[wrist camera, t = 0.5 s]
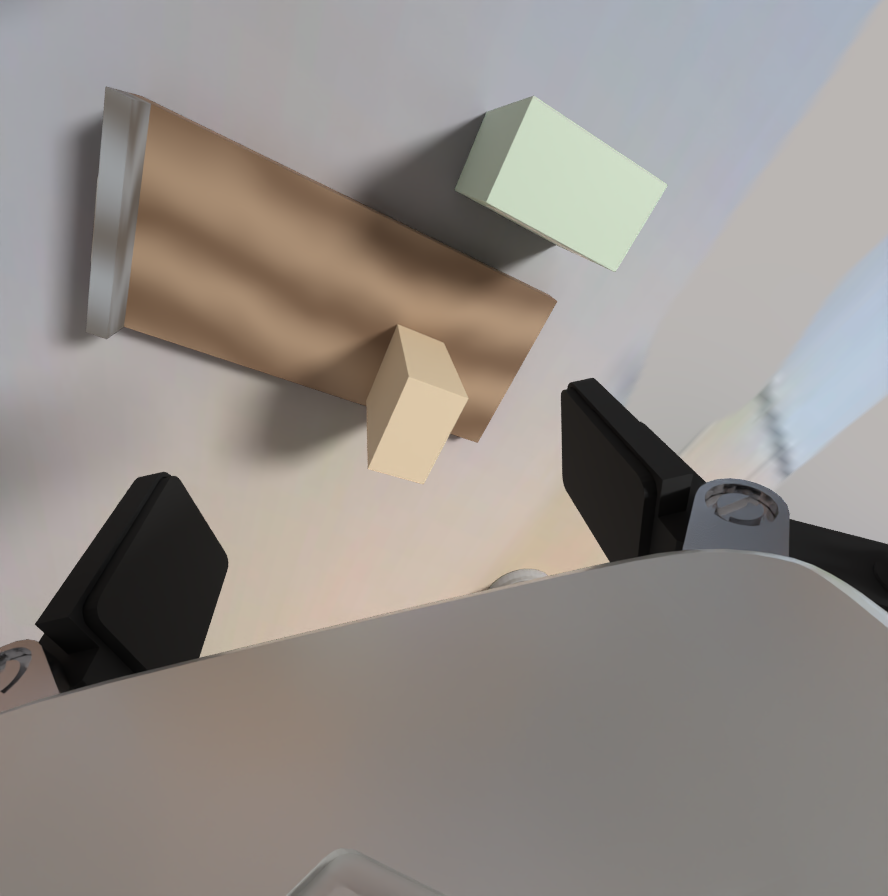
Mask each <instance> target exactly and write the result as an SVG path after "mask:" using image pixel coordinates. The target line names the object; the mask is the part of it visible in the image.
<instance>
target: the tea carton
mask: <svg viewBox="0 0 888 896" xmlns="http://www.w3.org/2000/svg"><path fill="white" fill-rule="evenodd" d="M667 186H668V185H667V184H666V183H664V182H663V181H661V180H660V179H658V178H657V177H655V176H653V175H652V174H650V173H649V172H647V171H646V170H644V169H643V168H641V167H640V166H638V165H637V164H635V163H634V162H632V161H631V160H629V159H628V158H626V157H625V156H623V155H622V154H620V153H619V152H617V151H616V150H614V149H613V148H611V147H610V146H608V145H607V144H605V143H604V142H602V141H601V140H599V139H598V138H596V137H595V136H593V135H592V134H590V133H589V132H587V131H586V130H584V129H583V128H581V127H580V126H578V125H577V124H575V123H574V122H572V121H571V120H569V119H568V118H566V117H565V116H563V115H562V114H560V113H559V112H557V111H556V110H554V109H553V108H551V107H550V106H548V105H547V104H545V103H544V102H542V101H541V100H539V99H538V98H536V97H535V96H532V97H529V98H526V99H523V100H520V101H517V102H514V103H511V104H508V105H505V106H502V107H500V108H497V109H494V110H491V111H488V112H486V114H485V117H484V119H483V122H482V124H481V126H480V129H479V131H478V134H477V136H476V139H475V141H474V143H473V146H472V148H471V151H470V153H469V156H468V158H467V160H466V163H465V165H464V168H463V170H462V173H461V175H460V178H459V180H458V182H457V185H456V187H455V191H457V192H459V193H460V194H462V195H464V196H466V197H468V198H470V199H472V200H473V201H475V202H477V203H479V204H481V205H483V206H485V207H486V208H488V209H490V210H492V211H494V212H496V213H498V214H499V215H501V216H503V217H505V218H507V219H509V220H511V221H512V222H514V223H516V224H518V225H520V226H522V227H524V228H525V229H527V230H529V231H531V232H533V233H535V234H537V235H539V236H540V237H542V238H544V239H546V240H548V241H550V242H552V243H553V244H555V245H557V246H559V247H562V248H564V249H566V250H568V251H570V252H572V253H575V254H577V255H579V256H581V257H583V258H586V259H588V260H590V261H592V262H594V263H596V264H599V265H601V266H603V267H605V268H607V269H609V270H612V271H614V272H616V270H617V268H618V267H619V265H620V263H621V262H622V260H623V258H624V257H625V255H626V253H627V252H628V250H629V248H630V247H631V245H632V244H633V242H634V240H635V239H636V237H637V235H638V234H639V232H640V230H641V229H642V227H643V225H644V224H645V222H646V220H647V219H648V217H649V215H650V214H651V212H652V210H653V209H654V207H655V205H656V204H657V202H658V201H659V199H660V197H661V196H662V194H663V192H664V191H665V189H666V187H667Z"/></svg>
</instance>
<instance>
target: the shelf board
mask: <svg viewBox="0 0 888 896" xmlns="http://www.w3.org/2000/svg"><path fill="white" fill-rule="evenodd" d="M556 303H557V301H556V300H555V299H554V298H552V297H551V296H550V295H548V294H546V293H544V292H542V291H540V290H538V289H536V288H534V287H532V286H530V285H528V284H526V283H524V282H521V281H519V280H517V279H515V278H513V277H511V276H509V275H507V274H505V273H503V272H501V271H499V270H497V269H495V268H493V267H491V266H489V265H487V264H485V263H483V262H480V261H478V260H476V259H474V258H472V257H470V256H468V255H466V254H464V253H462V252H460V251H458V250H456V249H454V248H452V247H450V246H448V245H446V244H444V243H442V242H440V241H437V240H435V239H433V238H431V237H429V236H427V235H425V234H423V233H421V232H419V231H417V230H415V229H413V228H411V227H409V226H407V225H405V224H403V223H401V222H399V221H396V220H394V219H392V218H390V217H388V216H386V215H384V214H382V213H380V212H378V211H376V210H374V209H372V208H370V207H368V206H366V205H364V204H362V203H360V202H358V201H355V200H353V199H351V198H349V197H347V196H345V195H343V194H341V193H339V192H337V191H335V190H333V189H331V188H329V187H327V186H325V185H323V184H321V183H319V182H317V181H314V180H312V179H310V178H308V177H306V176H304V175H302V174H300V173H298V172H296V171H294V170H292V169H290V168H288V167H286V166H284V165H282V164H280V163H278V162H276V161H273V160H271V159H269V158H267V157H265V156H263V155H261V154H259V153H257V152H255V151H253V150H251V149H249V148H247V147H245V146H243V145H241V144H239V143H237V142H235V141H233V140H230V139H228V138H226V137H224V136H222V135H220V134H218V133H216V132H214V131H212V130H210V129H208V128H206V127H204V126H202V125H200V124H198V123H196V122H194V121H192V120H189V119H187V118H185V117H183V116H181V115H179V114H177V113H175V112H173V111H171V110H169V109H167V108H165V107H163V106H161V105H159V104H157V103H155V102H153V101H151V100H148V99H146V98H144V97H142V96H139V95H136V94H132V93H128V92H124V91H121V90H117V89H113V88H110V87H106V88H105V101H104V113H103V125H102V138H101V150H100V162H99V175H98V176H97V189H96V201H95V214H94V226H93V239H92V251H91V273H90V286H89V298H88V310H87V323H86V333H89V334H92V335H96V336H99V337H102V338H105V339H108V338H109V337H110V336H112V335H113V334H115V333H116V332H117V331H119V330H120V329H122V328H123V327H126V328H129V329H132V330H136V331H139V332H142V333H145V334H148V335H151V336H154V337H157V338H160V339H163V340H166V341H169V342H172V343H175V344H178V345H181V346H184V347H187V348H190V349H193V350H197V351H200V352H203V353H206V354H209V355H212V356H215V357H218V358H221V359H224V360H227V361H230V362H233V363H236V364H239V365H242V366H245V367H248V368H251V369H254V370H257V371H261V372H264V373H267V374H270V375H273V376H276V377H279V378H282V379H285V380H288V381H291V382H294V383H297V384H300V385H303V386H306V387H309V388H312V389H315V390H318V391H322V392H325V393H328V394H331V395H334V396H337V397H340V398H343V399H346V400H349V401H352V402H355V403H358V404H361V405H364V406H366V400H367V398H368V395H369V393H370V390H371V388H372V385H373V383H374V381H375V378H376V376H377V373H378V371H379V368H380V366H381V363H382V361H383V358H384V356H385V354H386V351H387V349H388V346H389V344H390V341H391V339H392V336H393V334H394V332H395V329H396V327H397V324H398V325H401V326H403V327H406V328H408V329H411V330H413V331H416V332H418V333H421V334H423V335H426V336H428V337H431V338H433V339H436V340H438V341H441V342H443V343H444V344H445V346H446V349H447V351H448V353H449V355H450V358H451V360H452V362H453V364H454V367H455V369H456V371H457V373H458V376H459V378H460V380H461V383H462V385H463V387H464V389H465V392H466V394H467V396H468V398H469V399H468V400H467V402H466V404H465V406H464V408H463V410H462V412H461V414H460V416H459V418H458V420H457V421H456V423H455V425H454V427H453V429H452V431H451V433H450V434H453V435H456V436H459V437H462V438H465V439H468V440H471V441H474V442H477V443H478V441H479V439H480V438H481V436H482V434H483V432H484V431H485V429H486V427H487V425H488V423H489V422H490V420H491V418H492V416H493V415H494V413H495V411H496V409H497V407H498V406H499V404H500V402H501V400H502V399H503V397H504V395H505V393H506V391H507V390H508V388H509V386H510V384H511V383H512V381H513V379H514V377H515V376H516V374H517V372H518V370H519V368H520V367H521V365H522V363H523V361H524V360H525V358H526V356H527V354H528V352H529V351H530V349H531V347H532V345H533V344H534V342H535V340H536V338H537V336H538V335H539V333H540V331H541V329H542V328H543V326H544V324H545V322H546V320H547V319H548V317H549V315H550V313H551V312H552V310H553V308H554V306H555V304H556Z"/></svg>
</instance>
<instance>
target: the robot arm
mask: <svg viewBox="0 0 888 896" xmlns="http://www.w3.org/2000/svg"><path fill="white" fill-rule="evenodd" d="M561 424H562V476H563V483H564V486H565V489H566V491H567V493H568V494H569V496H570V498H571V499H572V501H573V503H574V504H575V506H576V507H577V509H578V511H579V512H580V514H581V516H582V517H583V519H584V521H585V522H586V524H587V525H588V527H589V529H590V530H591V532H592V534H593V535H594V537H595V539H596V540H597V542H598V543H599V545H600V547H601V548H602V550H603V552H604V553H605V555H606V557H607V558H608V560H609V561H610V563H605V564H599V565H595V566H590V567H586V568H582V569H577V570H573V571H569V572H564V573H559V574H555V575H550V576H545V577H541V578H537V579H532V580H528V581H524V582H519V583H515V584H511V585H506V586H502V587H498V588H493V589H489V590H485V591H480V592H476V593H472V594H467V595H463V596H459V597H454V598H450V599H446V600H441V601H437V602H432V603H428V604H424V605H420V606H415V607H411V608H407V609H403V610H398V611H394V612H390V613H386V614H381V615H377V616H373V617H369V618H364V619H360V620H356V621H352V622H347V623H343V624H339V625H335V626H330V627H326V628H322V629H318V630H314V631H309V632H305V633H301V634H297V635H292V636H288V637H284V638H280V639H276V640H272V641H267V642H263V643H259V644H255V645H251V646H247V647H243V648H238V649H234V650H230V651H226V652H222V653H218V654H214V655H209V656H205V657H201V658H199V657H200V653H201V650H202V647H203V644H204V641H205V638H206V635H207V632H208V629H209V625H210V622H211V619H212V616H213V613H214V610H215V607H216V604H217V601H218V597H219V594H220V591H221V588H222V585H223V582H224V579H225V576H226V573H227V569H228V558H227V555H226V553H225V551H224V549H223V548H222V546H221V545H220V543H219V541H218V540H217V538H216V537H215V535H214V533H213V532H212V530H211V529H210V527H209V525H208V524H207V522H206V521H205V519H204V517H203V516H202V514H201V513H200V511H199V509H198V508H197V506H196V505H195V503H194V501H193V500H192V498H191V496H190V495H189V493H188V492H187V490H186V488H185V487H184V485H183V484H182V482H181V481H180V479H179V478H178V477H176V476H171V475H170V474H168V473H166V472H161V473H156V474H152V475H147V476H143V477H139V478H137V479H136V480H135V481H134V482H133V484H132V485H131V487H130V488H129V489H128V491H127V492H126V494H125V495H124V497H123V498H122V500H121V501H120V502H119V504H118V505H117V507H116V508H115V510H114V511H113V512H112V514H111V515H110V517H109V518H108V520H107V521H106V523H105V524H104V525H103V527H102V528H101V530H100V531H99V533H98V534H97V536H96V537H95V538H94V540H93V541H92V543H91V544H90V546H89V547H88V549H87V550H86V551H85V553H84V554H83V556H82V557H81V559H80V560H79V561H78V563H77V564H76V566H75V567H74V569H73V570H72V572H71V573H70V574H69V576H68V577H67V579H66V580H65V582H64V583H63V585H62V586H61V587H60V589H59V590H58V592H57V593H56V595H55V596H54V598H53V599H52V600H51V602H50V603H49V605H48V606H47V608H46V609H45V611H44V612H43V613H42V615H41V616H40V618H39V619H38V621H37V622H36V623H35V625H36V626H37V627H38V628H39V629H40V630H42V631H43V632H44V635H43V636H42V638H41V639H40V641H39V642H37V641H35V640H29V639H26V640H20V641H15V642H13V643H10V644H7V645H5V646H2V647H0V896H888V544H885V543H881V542H877V541H873V540H869V539H865V538H862V537H858V536H854V535H850V534H846V533H842V532H838V531H834V530H830V529H826V528H822V527H818V526H815V525H811V524H807V523H803V522H799V521H795V520H791V519H789V515H790V514H789V510H788V506H787V504H786V503H785V502H784V500H783V499H782V498H781V497H780V496H779V495H777V494H776V493H775V492H773V491H772V490H770V489H768V488H766V487H764V486H762V485H760V484H757V483H754V482H750V481H746V480H740V479H731V478H729V479H717V480H713V481H710V482H707V483H706V482H705V481H704V480H703V479H702V478H701V477H700V476H699V475H698V474H697V473H696V472H695V471H694V470H692V469H691V468H690V467H689V466H688V465H687V464H686V463H685V462H684V461H683V460H682V459H681V458H680V457H679V456H678V455H677V454H676V453H675V452H674V451H672V450H671V449H670V448H669V447H668V446H667V445H666V444H665V443H664V442H663V441H662V440H661V439H660V438H659V437H658V436H657V435H656V434H654V432H652V431H651V430H650V429H649V428H648V427H647V426H646V425H645V424H643V423H642V422H639V421H638V420H637V419H636V418H635V417H634V416H633V415H632V414H631V413H630V412H629V411H628V410H627V409H626V408H625V407H624V406H623V405H622V404H621V403H620V402H618V401H617V400H616V399H615V398H614V397H613V396H612V395H611V394H610V393H609V392H608V391H607V390H606V389H605V388H604V387H603V386H602V385H601V384H600V383H599V382H598V381H597V380H596V379H594V378H589V379H585V380H580V381H576V382H571V383H569V384H568V388H567V389H566V390H563V391H562V393H561Z"/></svg>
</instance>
